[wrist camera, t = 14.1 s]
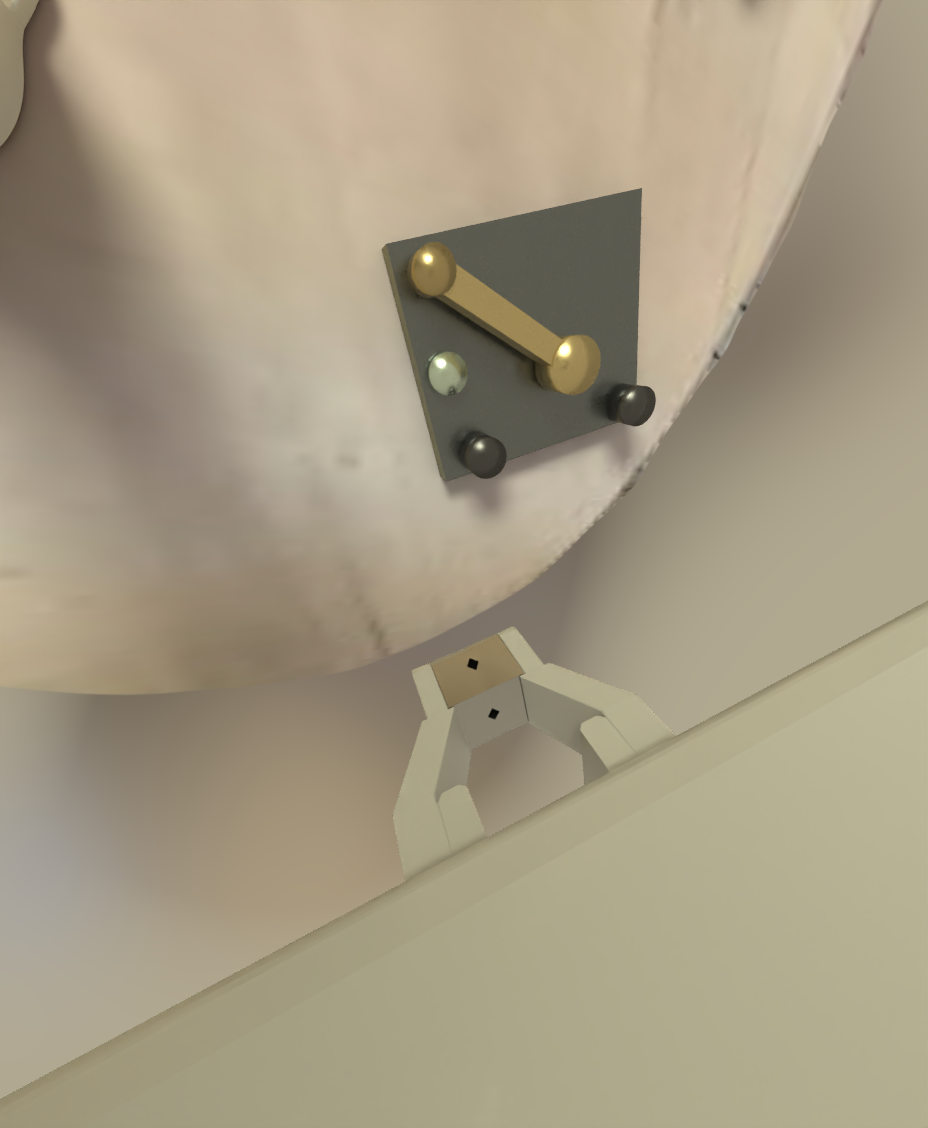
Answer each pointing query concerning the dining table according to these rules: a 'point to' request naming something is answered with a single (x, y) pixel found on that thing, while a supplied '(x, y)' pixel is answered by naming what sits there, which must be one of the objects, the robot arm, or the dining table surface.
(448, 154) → the dining table surface
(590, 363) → the lever
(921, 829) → the robot arm
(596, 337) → the base
